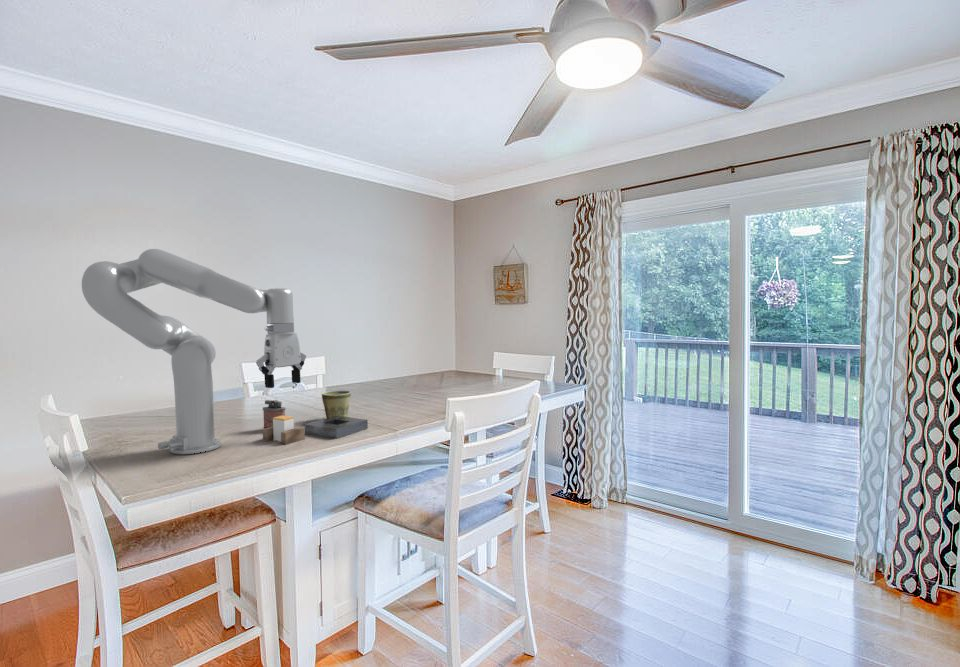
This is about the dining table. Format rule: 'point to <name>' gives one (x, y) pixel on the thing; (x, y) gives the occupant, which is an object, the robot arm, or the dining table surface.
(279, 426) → the white orange-topped block
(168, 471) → the dining table surface
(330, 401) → the green plant pot
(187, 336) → the robot arm
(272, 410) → the lighter
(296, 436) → the holster
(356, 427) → the port block
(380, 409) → the dining table surface
